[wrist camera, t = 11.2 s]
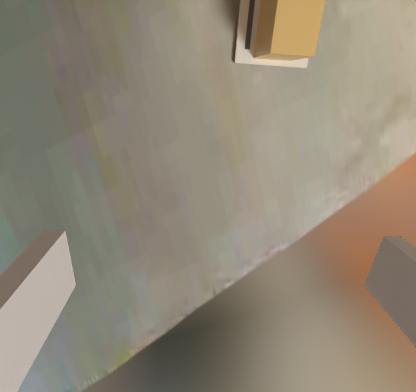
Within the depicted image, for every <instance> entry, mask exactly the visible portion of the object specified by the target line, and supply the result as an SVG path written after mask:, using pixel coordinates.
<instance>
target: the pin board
mask: <svg viewBox="0 0 416 392" xmlns="http://www.w3.org/2000/svg"><path fill="white" fill-rule="evenodd" d="M260 3H261V0H240V5H239V16H238V27H237V38H236V49H235V60H234V63H243V64H256V65H270V66H284V67H297V68H307V63H308V58H304V59H298V60H293V61H281V60H268V59H255V58H254V54H255V45H256V37H257V28H258V20H259V12H260Z"/></svg>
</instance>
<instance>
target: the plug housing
mask: <svg viewBox="0 0 416 392" xmlns="http://www.w3.org/2000/svg"><path fill="white" fill-rule="evenodd" d="M325 2H326V0H261V3H260V12H259V20H258V28H257V37H256V45H255V54H254V58H255V59H268V60H281V61H293V60H298V59H304V58H310V57H314V56H315V51H316V46H317V41H318V36H319V31H320V26H321V21H322V16H323V11H324V7H325Z"/></svg>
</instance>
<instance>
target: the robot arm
mask: <svg viewBox="0 0 416 392" xmlns="http://www.w3.org/2000/svg"><path fill="white" fill-rule="evenodd" d="M75 286H76V284H75V279H74V273H73V268H72V263H71V258H70V253H69V248H68V242H67V237H66V232H65V230H44V231H43V232H42V233H41V234H40V235H39V236H38V237H37V238H36V239H35V240H34V241H33V243H32V244H31V245H30V246H29V247H28V248H27V249H26V250H25V251H24V252H23V253H22V254H21V255H20V256H19V257H18V258H17V259H16V260H15V261H14V262H13V263H12V264H11V265H10V266H9V267H8V269H7V270H6V271H5V272H4V273H3V274H2V275H1V276H0V392H17V391H18V389H19V387H20V385H21V383H22V382H23V380H24V378H25V376H26V374H27V373H28V371H29V369H30V367H31V365H32V364H33V362H34V360H35V358H36V356H37V355H38V353H39V351H40V349H41V347H42V345H43V344H44V342H45V340H46V338H47V336H48V335H49V333H50V331H51V329H52V327H53V326H54V324H55V322H56V320H57V318H58V317H59V315H60V313H61V311H62V309H63V307H64V306H65V304H66V302H67V300H68V298H69V297H70V295H71V293H72V291H73V289H74V288H75ZM364 286H365V287H366V288H367V290H368V291H369V292H370V293H371V294H372V295H373V297H374V298H375V299H376V300H377V301H378V303H379V304H380V305H381V306H382V307H383V308H384V310H385V311H386V312H387V313H388V314H389V316H390V317H391V318H392V319H393V320H394V322H395V323H396V324H397V325H398V326H399V327H400V329H401V330H402V331H403V332H404V333H405V335H406V336H407V337H408V338H409V339H410V341H411V342H412V343H413V344H414V345H415V346H416V248H415V247H414V246H412V245H411V244H410V243H409V242H407V241H406V240H405V239H403V238H402V237H401V236H384V237H383V239H382V242H381V244H380V247H379V249H378V252H377V254H376V257H375V259H374V262H373V264H372V267H371V269H370V272H369V274H368V277H367V279H366V282H365V284H364Z"/></svg>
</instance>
